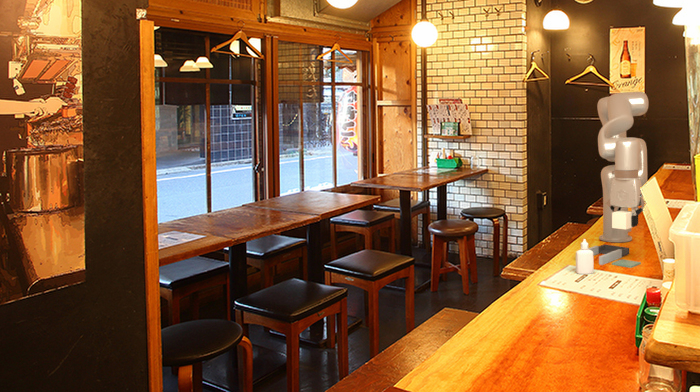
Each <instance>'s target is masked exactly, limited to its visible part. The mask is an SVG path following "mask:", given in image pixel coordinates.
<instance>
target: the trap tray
mask: <svg viewBox="0 0 700 392" xmlns="http://www.w3.org/2000/svg"><path fill="white" fill-rule="evenodd" d="M598 246H599V254H601V253H602V255H604V254H607V253H610V252H612V251H615V250H618V249H621V250H622V258H623V257H626V256H629V255H630V247H625V246H618V245H611V244H605V243H604V244H602V245H598ZM628 254H629V255H628Z"/></svg>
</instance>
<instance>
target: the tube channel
mask: <svg viewBox="0 0 700 392" xmlns="http://www.w3.org/2000/svg"><path fill="white" fill-rule="evenodd" d="M599 246H600V245H594V246H591V247H588V249H589V250H591V251H593V257H594V256H597V255H599V256H598V264H599V266H603V265H605V264H608V263H611V262H615V261H617V260H620V259H622V258H623V257H622V250H621V249H618V250H615V251H612V252H610V253H607V254H602V255H600V253H599Z"/></svg>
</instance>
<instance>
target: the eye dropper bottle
mask: <svg viewBox="0 0 700 392" xmlns="http://www.w3.org/2000/svg"><path fill="white" fill-rule="evenodd" d="M588 248H589V243H588V242H587V239H586V238H583V239H582V242H580V249H578V250H577V251H575V273H577V274H578V275H592V274H593V273H594V268H595V267H594V256H593V251H591V250H589V249H588Z"/></svg>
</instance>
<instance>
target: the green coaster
mask: <svg viewBox="0 0 700 392" xmlns="http://www.w3.org/2000/svg"><path fill="white" fill-rule="evenodd" d="M641 263H642V262H641V261H634V260H630V259H629V260H628V259H622V258H620V259H617V260H615V261H612V263H611V265H612V266H616V267H617V266H618V267H624V268H630V269H632V268H634V267H637V266H640V265H641Z"/></svg>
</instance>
